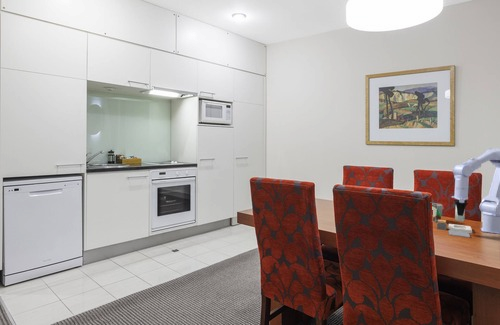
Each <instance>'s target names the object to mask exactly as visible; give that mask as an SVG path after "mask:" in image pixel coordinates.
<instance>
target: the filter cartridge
mask: <svg viewBox="0 0 500 325" xmlns="http://www.w3.org/2000/svg"><path fill="white" fill-rule="evenodd" d="M465 212H466V209H465V210H464V214H463V216H459V215H458V214H457V207H456V206H455V214H454V220H455V221H456V222H465Z"/></svg>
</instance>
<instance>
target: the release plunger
mask: <svg viewBox="0 0 500 325" xmlns="http://www.w3.org/2000/svg"><path fill="white" fill-rule="evenodd" d="M438 223H439V224H446V223H447V220H446V219H441V220H438Z"/></svg>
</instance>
